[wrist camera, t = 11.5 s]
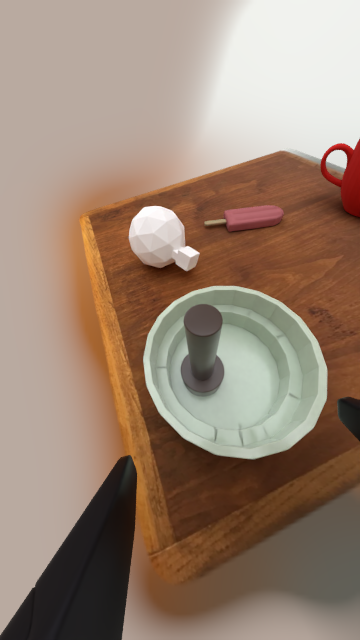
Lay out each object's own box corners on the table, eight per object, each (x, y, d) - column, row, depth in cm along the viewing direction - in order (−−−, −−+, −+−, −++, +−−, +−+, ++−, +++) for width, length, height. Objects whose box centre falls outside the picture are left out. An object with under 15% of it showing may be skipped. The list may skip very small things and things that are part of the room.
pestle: (230, 375, 20) (260, 316, 10) (203, 406, 19) (206, 374, 8) (200, 349, 22) (200, 278, 12) (174, 376, 20) (148, 321, 10)
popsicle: (203, 212, 36) (278, 202, 36) (202, 220, 38) (275, 210, 37) (206, 227, 34) (288, 217, 33) (206, 235, 35) (285, 225, 34)
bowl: (326, 426, 17) (378, 424, 12) (171, 470, 17) (158, 486, 11) (254, 304, 25) (268, 272, 20) (149, 330, 25) (136, 304, 20)
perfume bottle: (118, 258, 31) (169, 296, 27) (114, 197, 24) (181, 236, 20) (154, 245, 36) (201, 276, 32) (159, 192, 29) (219, 223, 26)
